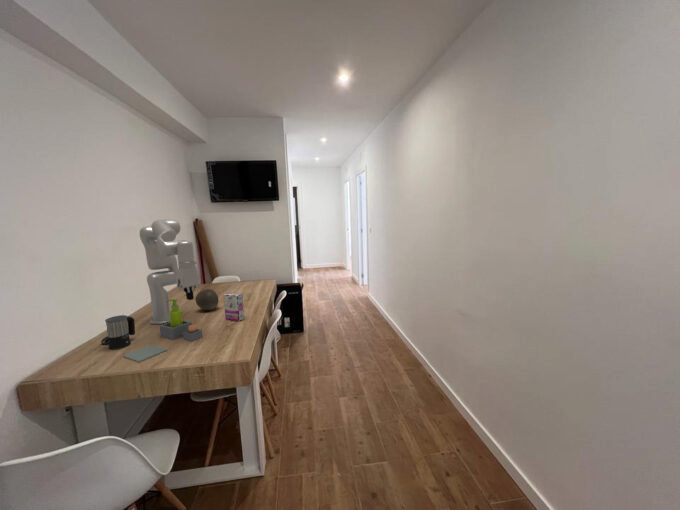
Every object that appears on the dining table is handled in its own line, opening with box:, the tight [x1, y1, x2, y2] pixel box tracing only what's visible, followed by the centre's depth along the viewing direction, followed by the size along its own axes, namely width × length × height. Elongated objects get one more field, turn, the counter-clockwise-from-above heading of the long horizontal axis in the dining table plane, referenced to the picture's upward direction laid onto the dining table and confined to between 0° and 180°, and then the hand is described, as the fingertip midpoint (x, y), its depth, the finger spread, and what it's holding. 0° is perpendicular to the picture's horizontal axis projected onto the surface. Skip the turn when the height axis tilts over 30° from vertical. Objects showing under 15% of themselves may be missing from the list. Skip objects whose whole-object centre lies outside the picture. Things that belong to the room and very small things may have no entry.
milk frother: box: [100, 314, 136, 350], centre depth 152 cm, size 14×16×15 cm
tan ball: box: [188, 323, 198, 333], centre depth 158 cm, size 4×4×3 cm
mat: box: [122, 344, 168, 363], centre depth 141 cm, size 13×13×1 cm
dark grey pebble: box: [195, 288, 219, 311], centre depth 206 cm, size 14×14×15 cm
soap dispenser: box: [167, 298, 184, 328], centre depth 164 cm, size 6×7×20 cm
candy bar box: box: [223, 292, 245, 322], centre depth 186 cm, size 11×5×16 cm, turn 68°
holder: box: [159, 319, 203, 342], centre depth 162 cm, size 23×11×6 cm, turn 63°
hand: (190, 299), depth 155 cm, fingers closed
